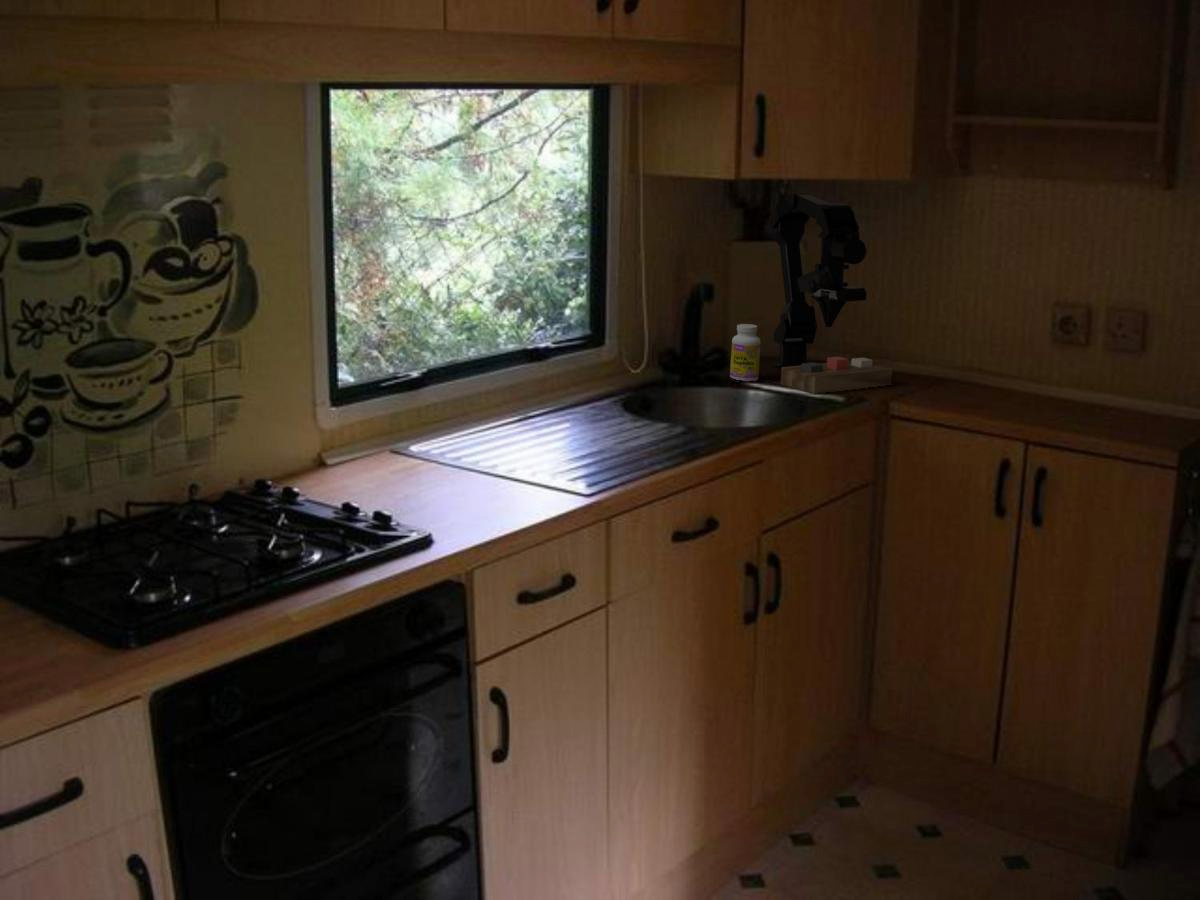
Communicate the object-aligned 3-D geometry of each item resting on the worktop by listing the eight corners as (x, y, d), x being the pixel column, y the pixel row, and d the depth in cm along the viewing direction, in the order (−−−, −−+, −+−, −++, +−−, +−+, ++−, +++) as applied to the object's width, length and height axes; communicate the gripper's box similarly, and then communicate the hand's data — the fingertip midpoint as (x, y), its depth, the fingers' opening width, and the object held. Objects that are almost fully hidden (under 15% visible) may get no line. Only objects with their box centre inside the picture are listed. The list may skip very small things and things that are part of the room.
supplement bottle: (727, 381, 318) (729, 326, 314) (732, 376, 324) (735, 322, 321) (755, 383, 316) (758, 328, 313) (760, 378, 322) (763, 324, 319)
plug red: (825, 378, 317) (827, 357, 315) (837, 377, 318) (838, 356, 317) (835, 381, 314) (837, 360, 312) (846, 380, 315) (848, 359, 314)
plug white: (850, 379, 321) (851, 358, 319) (861, 378, 322) (862, 357, 321) (860, 382, 318) (861, 361, 316) (871, 381, 319) (872, 360, 318)
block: (780, 384, 315) (781, 367, 314) (856, 376, 327) (857, 359, 326) (814, 394, 306) (815, 376, 305) (891, 385, 317) (892, 368, 316)
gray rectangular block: (800, 385, 313) (801, 363, 312) (811, 383, 315) (813, 362, 313) (809, 387, 310) (811, 366, 309) (821, 386, 312) (822, 364, 311)
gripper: (779, 256, 316) (775, 323, 320) (832, 265, 301) (827, 335, 305) (816, 254, 322) (812, 320, 326) (870, 263, 306) (865, 332, 310)
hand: (828, 326), depth 316 cm, fingers closed
